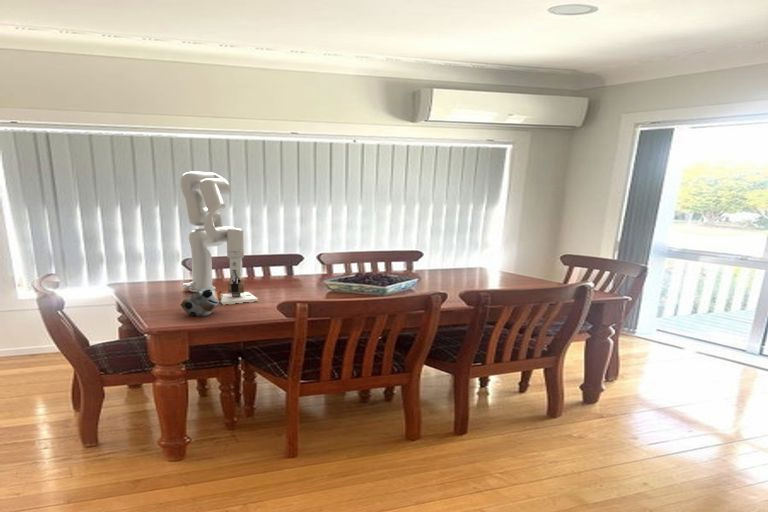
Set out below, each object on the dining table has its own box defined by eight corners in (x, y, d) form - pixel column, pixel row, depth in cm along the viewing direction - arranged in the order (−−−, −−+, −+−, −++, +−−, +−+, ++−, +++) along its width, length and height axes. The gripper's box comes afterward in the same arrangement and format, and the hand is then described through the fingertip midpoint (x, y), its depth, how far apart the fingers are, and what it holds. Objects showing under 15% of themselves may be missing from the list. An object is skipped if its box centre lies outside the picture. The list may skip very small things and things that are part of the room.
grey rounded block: (204, 307, 226) (218, 281, 224) (217, 323, 219) (232, 296, 217) (174, 304, 214) (189, 276, 212) (187, 320, 207) (203, 291, 205)
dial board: (223, 305, 232) (222, 301, 231) (215, 297, 245) (215, 294, 245) (257, 301, 240) (257, 298, 239) (248, 294, 253) (248, 291, 253)
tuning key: (243, 296, 241) (243, 283, 240) (228, 297, 239) (228, 284, 238) (243, 292, 251) (243, 279, 250) (229, 292, 249) (228, 280, 248)
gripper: (241, 256, 232) (242, 293, 234) (245, 251, 248) (245, 286, 251) (224, 257, 230) (225, 293, 233) (229, 251, 247) (230, 286, 250)
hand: (236, 289), depth 242 cm, fingers open, 9 cm apart
